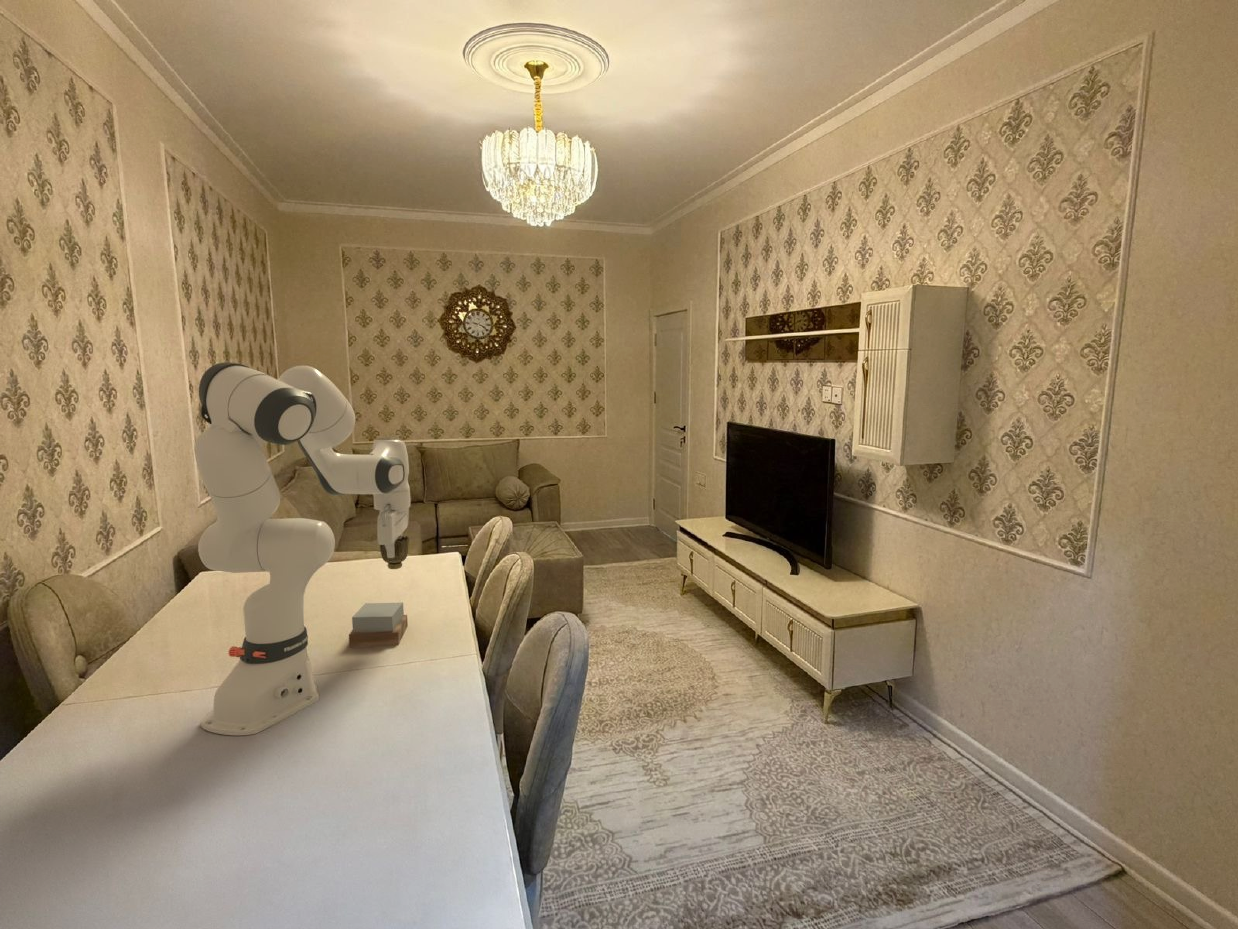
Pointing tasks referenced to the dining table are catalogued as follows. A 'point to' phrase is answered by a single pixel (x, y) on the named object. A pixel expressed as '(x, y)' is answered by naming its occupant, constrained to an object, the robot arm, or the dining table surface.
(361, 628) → the tower top
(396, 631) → the tower base
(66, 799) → the dining table surface
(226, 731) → the robot arm
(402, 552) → the cup
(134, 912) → the dining table surface
